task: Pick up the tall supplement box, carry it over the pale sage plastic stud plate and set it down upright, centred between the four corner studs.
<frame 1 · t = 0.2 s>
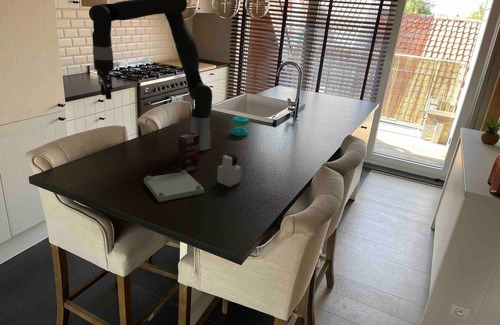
hand: (106, 97, 155), 29 cm above the kitchen island, fingers open, 8 cm apart
stud plate: (173, 187, 145), on the kitchen island
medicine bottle: (228, 182, 154), on the kitchen island
supplement box: (188, 169, 163), on the kitchen island
donuts: (239, 134, 216), on the kitchen island
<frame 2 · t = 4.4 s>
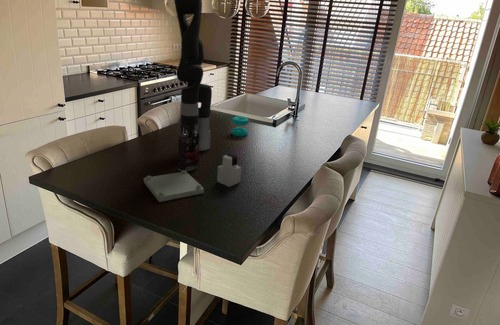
hand: (188, 150, 160), 9 cm above the kitchen island, fingers closed on supplement box, 6 cm apart
supplement box: (188, 169, 163), on the kitchen island, touching gripper
everything else where it was.
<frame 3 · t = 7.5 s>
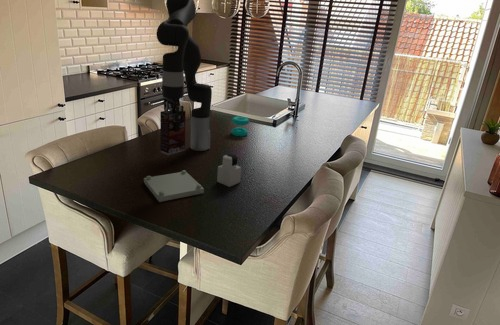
hand: (173, 128, 136), 24 cm above the kitchen island, fingers closed on supplement box, 6 cm apart
supplement box: (173, 152, 139), point 15 cm above the kitchen island, touching gripper
everything else where it was.
when the fingers open (12 cm above the kitchen island, at t = 10.6 s): supplement box drops 1 cm, resting on stud plate.
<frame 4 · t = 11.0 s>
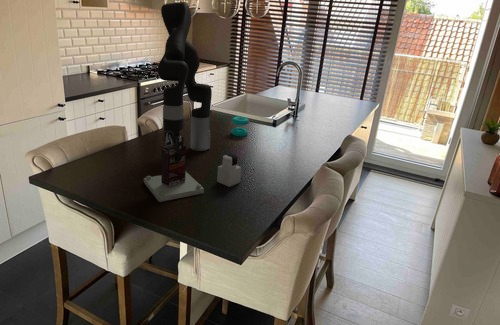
hand: (173, 157, 140), 13 cm above the kitchen island, fingers open, 8 cm apart
supplement box: (173, 183, 144), point 2 cm above the kitchen island, touching stud plate
everything else where it was.
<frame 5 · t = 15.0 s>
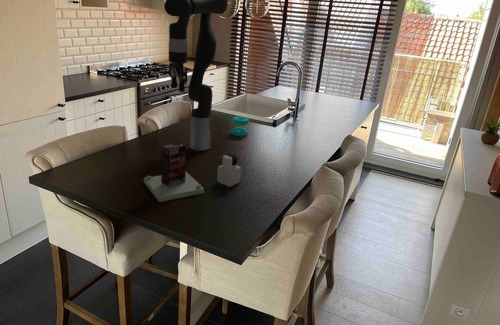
hand: (177, 89, 155), 34 cm above the kitchen island, fingers open, 8 cm apart
nothing on the kitchen island moved.
at the end: supplement box 0.2 cm from the stud plate (horizontally); supplement box tilted 0°; supplement box touching stud plate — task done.
